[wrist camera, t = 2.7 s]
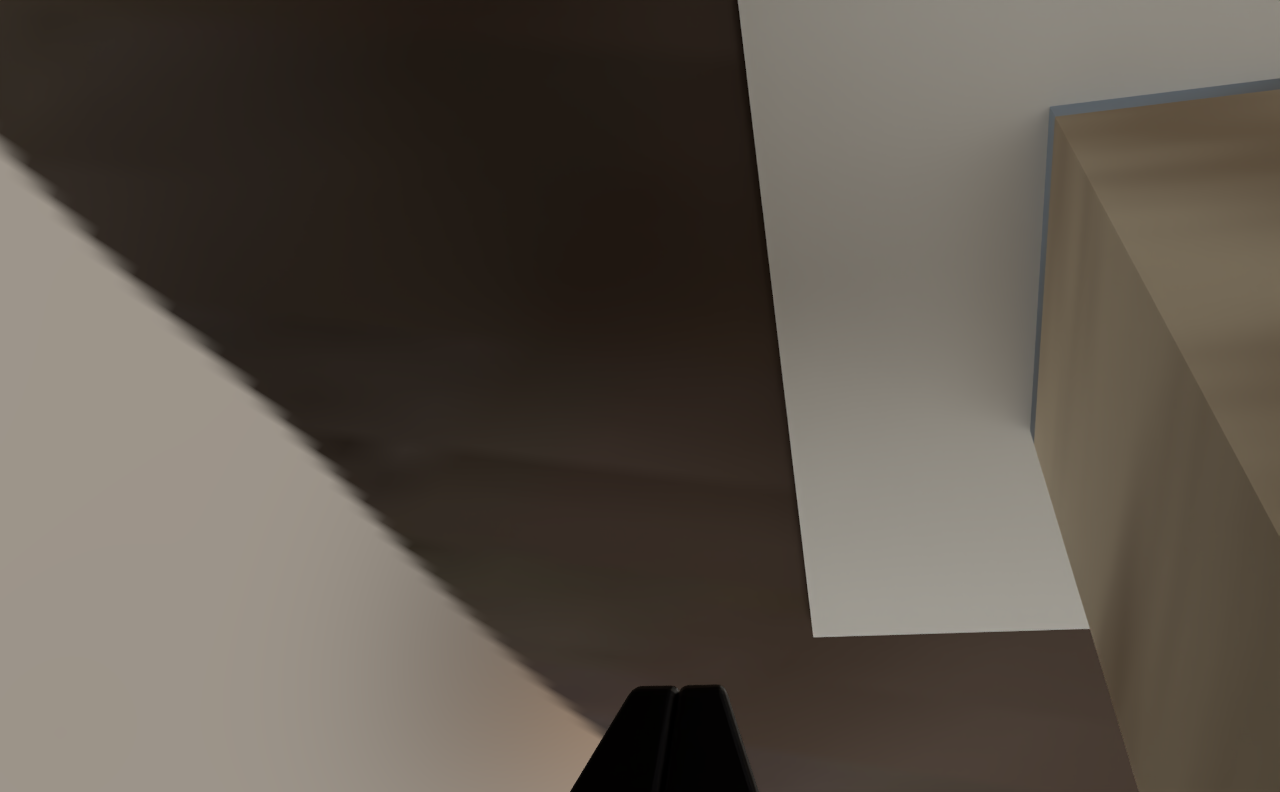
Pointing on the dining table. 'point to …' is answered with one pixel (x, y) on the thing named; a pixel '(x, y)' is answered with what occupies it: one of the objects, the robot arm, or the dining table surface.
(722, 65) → the dining table surface
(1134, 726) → the birch block
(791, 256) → the grey mat
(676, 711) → the robot arm
